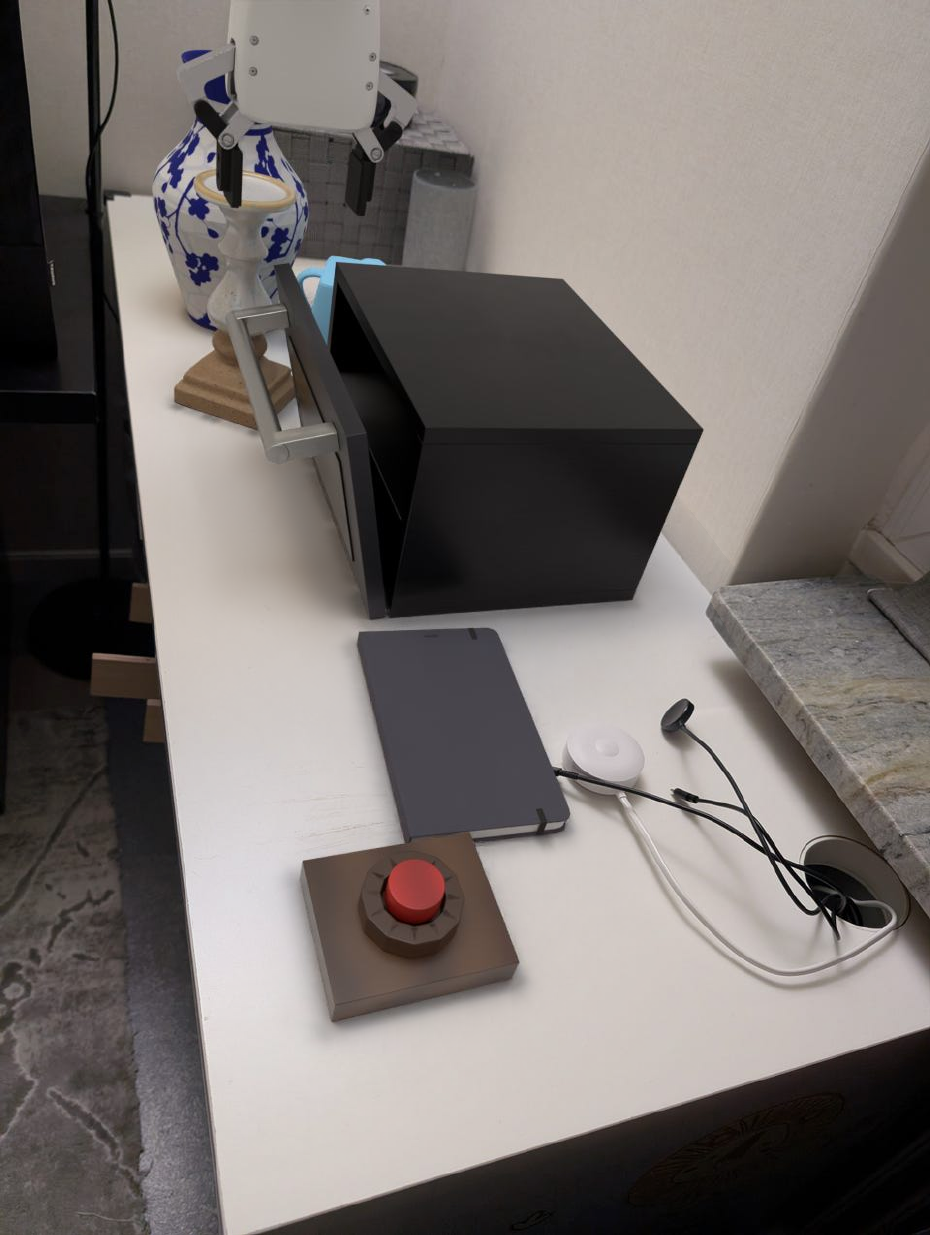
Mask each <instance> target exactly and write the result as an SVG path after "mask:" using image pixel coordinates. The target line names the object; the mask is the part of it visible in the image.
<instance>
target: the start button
mask: <svg viewBox="0 0 930 1235" xmlns="http://www.w3.org/2000/svg"><path fill="white" fill-rule="evenodd" d="M444 891H445V882H444V879H443V876H442V874H441V873H440V871H439V870H438V869H437V868H436V867H435V866H434V865H432V864H431V863H429V862H427V861H424V860H420V859H409V860H405V861H403V862H401V863H399V864H398V865H396V866H395V867H394V868H393V870H392V871H391V873H390V875H389V879H388V883H387V887H386V891H385V903H386V906H387V908H388V910H389V911H390V913H391V914H392V915H393V916H394V917H395V918H397V919H398V920H400V921H402V922H405V923H409V924H420V923H424V922H426V921H428V920H430V919H431V918H433V917H434V916H435V914H436V913H437V911H438V910H439V907H440V904H441V901H442V898H443V895H444Z"/></svg>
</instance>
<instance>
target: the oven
mask: <svg viewBox="0 0 930 1235" xmlns="http://www.w3.org/2000/svg"><path fill="white" fill-rule="evenodd" d="M334 276H335V277H334V284H333V294H332V304H331V313H330V323H329V332H328V342H327V347H328V349H329V351H330V353H331V355H332V358H333V360H334V362H335V364H336V366H337V369H338V371H339V373H340V375H341V377H342V380H343V382H344V384H345V386H346V388H347V391H348V393H349V395H350V397H351V399H352V402H353V404H354V406H355V408H356V410H357V413H358V415H359V417H360V419H361V422H362V424H363V426H364V428H365V430H366V433H367V441H368V450H369V459H370V468H371V477H372V486H373V495H374V505H375V514H376V523H377V532H378V541H379V550H380V559H381V568H382V578H383V587H384V596H385V605H386V614H387V616H388V618H389V619H391V618H392V619H393V618H405V617H418V616H433V615H447V614H459V613H472V612H474V613H475V612H486V611H487V612H488V611H500V610H515V609H527V608H528V609H529V608H541V607H553V606H569V605H581V604H592V603H593V604H594V603H608V602H609V603H610V602H619V601H633V599H634V597H635V595H636V592H637V589H638V587H639V585H640V583H641V580H642V578H643V576H644V573H645V571H646V568H647V566H648V563H649V561H650V559H651V557H652V554H653V552H654V550H655V547H656V544H657V543H658V541H659V537H660V535H661V533H662V531H663V528H664V525H665V523H666V521H667V519H668V516H669V514H670V512H671V509H672V507H673V504H674V502H675V500H676V497H677V494H678V493H679V490H680V488H681V484H682V483H683V480H684V478H685V475H686V473H687V471H688V468H689V466H690V464H691V463H692V462H691V461H692V459H693V457H694V454H695V452H696V450H697V447H698V444H699V442H700V440H701V438H702V435H703V433H704V430H705V428H703V427H702V426H701V425H700V423H699V422H698V421H697V420H696V419H695V418H694V417H693V416H692V414H690V413H689V411H687V410H686V408H684V406H683V405H682V404H681V403H680V402H679V401H678V400H677V399H676V398H675V397H674V396H673V395H672V394H671V392H670V391H669V390H668V389H667V388H666V387H665V386H664V385H663V384H662V383H661V382H660V381H659V380H658V379H657V377H656V376H654V374H653V373H652V372H651V371H650V370H649V369H648V368H647V367H646V366H645V365H644V363H642V362H641V361H640V359H639V358H638V357H637V356H636V355H635V354H634V353H633V352H632V351H631V349H630V348H629V347H627V345H626V344H625V343H624V342H623V341H622V340H621V339H620V338H619V337H618V336H617V335H616V334H615V332H613V331H612V330H611V328H610V327H609V326H608V325H607V324H606V323H605V322H604V321H603V320H602V318H601V317H599V315H598V314H596V312H595V311H594V310H593V309H592V308H591V307H590V306H589V305H588V303H586V301H584V299H582V298H581V296H580V295H579V294H578V293H577V292H576V291H575V290H574V288H572V287H571V286H570V284H568V283H567V282H566V280H565V278H559V277H557V278H556V277H546V276H545V277H544V276H532V275H531V276H529V275H518V274H517V275H516V274H504V273H491V272H479V271H478V272H477V271H476V272H475V271H463V270H450V269H438V268H437V269H436V268H424V267H412V266H411V267H410V266H399V265H397V266H396V265H386V266H385V265H372V264H359V263H345V262H336V265H335V275H334Z"/></svg>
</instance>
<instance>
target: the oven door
mask: <svg viewBox="0 0 930 1235" xmlns="http://www.w3.org/2000/svg"><path fill="white" fill-rule="evenodd" d="M274 270H275V276H276V282H277V288H278V294H279V300H278V301H279V302H278V303H277V304H273V305H266V306H260V307H254V308H248V309H241V310H232V311H230V312H228V313H227V315H226V317H225V321H226V324H227V327H228V331H229V334H230V337H231V341H232V344H233V347H234V350H235V354H236V357H237V360H238V364H239V367H240V370H241V374H242V377H243V380H244V383H245V387H246V390H247V393H248V397H249V400H250V403H251V407H252V410H253V413H254V416H255V420H256V423H257V426H258V429H257V430H258V433H259V436H260V439H261V443H262V446H263V450H264V453H265V456H266V459H267V460H268V462H270V463H271V464H274V465H281V464H283V463H287V462H291V461H296V460H302V459H307V458H310V459H311V462H312V465H313V468H314V470H315V473H316V475H317V479H318V482H319V484H320V486H321V489H322V492H323V495H324V497H325V500H326V503H327V506H328V509H329V511H330V515H331V517H332V519H333V522H334V525H335V528H336V531H337V534H338V536H339V538H340V541H341V544H342V546H343V549H344V552H345V555H346V559H347V562H348V563H349V566H350V569H351V571H352V575H353V578H354V580H355V583H356V585H357V589H358V591H359V594H360V596H361V599H362V603H363V605H364V608H365V610H366V613H367V616H368V619H369V620H374V619H377V618H382V617H386V616H388V613H387V610H386V605H385V596H384V587H383V578H382V568H381V559H380V550H379V541H378V532H377V523H376V514H375V505H374V495H373V486H372V477H371V468H370V459H369V450H368V441H367V433H366V430H365V428H364V426H363V424H362V422H361V419H360V417H359V415H358V413H357V410H356V408H355V406H354V404H353V402H352V399H351V397H350V395H349V393H348V391H347V388H346V386H345V384H344V382H343V380H342V377H341V375H340V373H339V371H338V369H337V366H336V364H335V362H334V360H333V358H332V355H331V353H330V351H329V349H328V347H327V344H326V342H325V340H324V338H323V336H322V333H321V331H320V329H319V327H318V325H317V322H316V320H315V318H314V316H313V314H312V311H311V309H312V308H311V309H310V307H311V306H310V307H309V305H310V304H309V305H308V303H309V302H308V303H307V300H308V299H307V300H306V298H307V297H306V298H305V296H306V295H305V296H304V294H303V292H302V289H301V287H300V285H299V283H298V281H297V275H296V274H295V272H294V270H293V267H291V265H290V263H285V264H279V265H274ZM283 329H284V335H285V341H286V347H287V354H288V358H289V364H290V369H291V375H292V376H293V382H294V388H295V394H296V396H295V400H296V406H297V412H298V417H299V423H300V427H297V428H296V427H295V428H289V429H286V430H283V428H282V426H281V424H280V421H279V418H278V414H276V411H275V408H274V405H273V403H272V400H271V397H270V394H269V391H268V388H267V385H266V382H265V379H264V376H263V373H262V370H261V367H260V364H259V361H258V358H257V355H256V352H255V349H254V346H253V343H252V340H251V337H250V334H253V333H259V332H265V331H266V332H271V331H277V330H283ZM266 332H265V333H266Z"/></svg>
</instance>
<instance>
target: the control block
mask: <svg viewBox="0 0 930 1235" xmlns="http://www.w3.org/2000/svg"><path fill="white" fill-rule="evenodd" d="M409 859H420V860H424V861H427V862H429V863H431V864H432V865H434V866H435V867H436V868H437V869H438V870H439V871H440V873H441V874H442V876H443V879H444V882H445V891H444V895H443V898H442V901H441V904H440V907H439V910H438V911H437V913H436V914H435V916H434V917H433V918H431V919H430V920H428V921H426V922H424V923H420V924H409V923H405V922H402V921H400V920H398V919H397V918H395V917H394V916H393V915H392V914H391V913H390V911H389V910H388V908H387V906H386V903H385V891H386V887H387V883H388V879H389V875H390V873H391V871H392V870H393V868H394V867H395V866H396V865H398V864H399V863H401V862H403V861H405V860H409ZM299 882H300V884H301V890H302V894H303V898H304V903H305V908H306V912H307V917H308V921H309V925H310V930H311V935H312V940H313V944H314V948H315V953H316V958H317V963H318V966H319V970H320V976H321V980H322V984H323V989H324V994H325V998H326V1003H327V1008H328V1011H329V1012H328V1013H329V1016H330V1021H331V1022H336V1021H339V1020H344V1019H348V1018H352V1017H357V1016H360V1015H365V1014H369V1013H373V1012H377V1011H381V1010H386V1009H390V1008H394V1007H398V1006H399V1007H400V1006H402V1005H407V1004H411V1003H415V1002H420V1001H424V1000H428V999H431V998H435V997H439V996H444V995H449V994H453V993H456V992H462V991H465V990H469V989H473V988H478V987H482V986H486V985H490V984H494V983H498V982H502V981H506V980H510V979H513V977H514V975H515V973H516V971H517V969H518V968H519V965H520V958H519V956H518V954H517V951H516V949H515V946H514V944H513V941H512V938H511V935H510V933H509V930H508V928H507V925H506V922H505V919H504V917H503V915H502V912H501V909H500V906H499V904H498V901H497V899H496V897H495V896H496V895H495V894H494V891H493V889H492V886H491V883H490V881H489V878H488V876H487V873H486V870H485V868H484V865H483V862H482V860H481V856H480V855H479V852H478V849H477V847H476V844H475V842H473V839H472V836H471V834H470V832H468V833H462V834H456V835H450V836H444V837H438V838H432V839H427V840H421V841H415V842H409V843H405V842H404V843H399V844H398V843H397V844H393V845H387V846H386V845H385V846H381V847H374V848H369V849H363V850H357V851H351V852H346V853H345V852H344V853H340V854H333V855H328V856H322V857H321V856H320V857H317V858H309V859H304V860H302V863H301V870H300V876H299Z"/></svg>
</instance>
